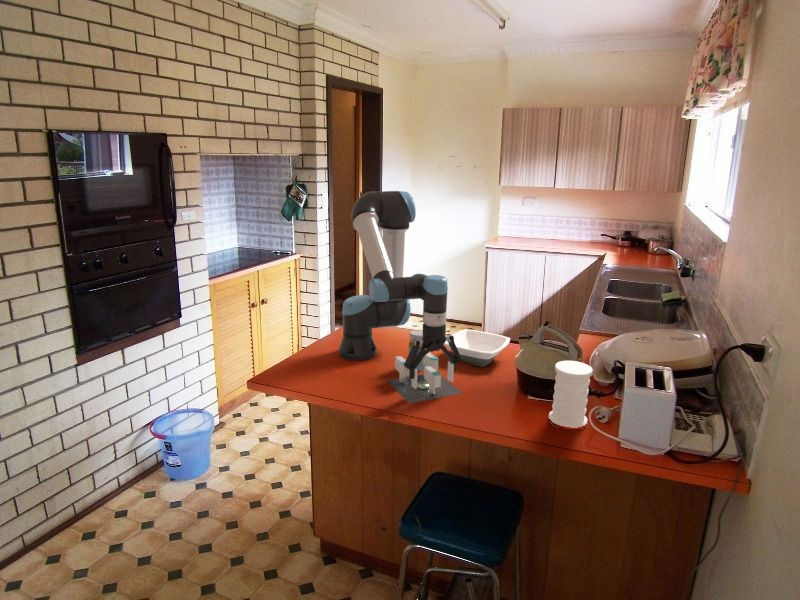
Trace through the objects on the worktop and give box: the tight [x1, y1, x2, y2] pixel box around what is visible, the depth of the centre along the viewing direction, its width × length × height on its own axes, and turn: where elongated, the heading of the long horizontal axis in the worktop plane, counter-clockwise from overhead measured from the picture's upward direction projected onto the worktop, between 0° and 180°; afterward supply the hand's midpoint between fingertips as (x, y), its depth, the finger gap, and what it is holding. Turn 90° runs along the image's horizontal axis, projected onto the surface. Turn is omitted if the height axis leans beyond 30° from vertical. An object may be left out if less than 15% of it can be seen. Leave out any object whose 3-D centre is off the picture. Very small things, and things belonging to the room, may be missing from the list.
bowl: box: [443, 328, 511, 368], centre depth 217 cm, size 22×23×8 cm
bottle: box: [408, 329, 426, 372], centre depth 206 cm, size 7×7×15 cm
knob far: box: [423, 351, 440, 371], centre depth 198 cm, size 8×2×8 cm, turn 25°
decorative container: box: [548, 360, 594, 428], centre depth 170 cm, size 12×12×18 cm
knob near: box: [394, 355, 409, 383], centre depth 193 cm, size 8×2×8 cm, turn 25°
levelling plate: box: [386, 373, 463, 404], centre depth 192 cm, size 19×20×2 cm
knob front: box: [423, 366, 442, 394], centre depth 185 cm, size 8×2×8 cm, turn 25°
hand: (432, 383), depth 185 cm, fingers open, 13 cm apart
